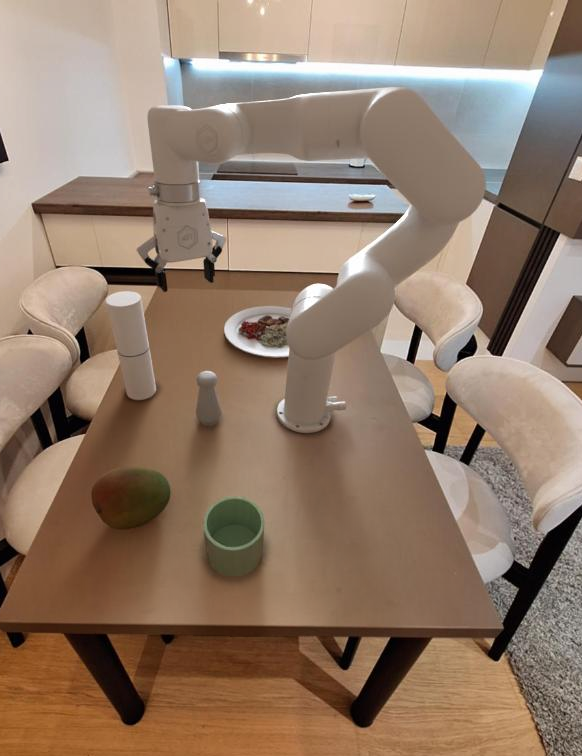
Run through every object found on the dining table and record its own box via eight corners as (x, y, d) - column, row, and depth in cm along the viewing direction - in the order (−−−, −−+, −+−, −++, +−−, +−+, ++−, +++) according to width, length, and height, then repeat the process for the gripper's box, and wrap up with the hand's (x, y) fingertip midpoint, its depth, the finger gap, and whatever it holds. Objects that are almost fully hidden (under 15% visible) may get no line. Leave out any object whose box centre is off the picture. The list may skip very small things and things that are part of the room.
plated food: (340, 350, 116) (342, 340, 114) (244, 370, 107) (244, 360, 105) (295, 305, 138) (296, 296, 136) (212, 319, 129) (211, 309, 127)
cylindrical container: (126, 402, 96) (105, 307, 80) (126, 384, 101) (106, 292, 86) (157, 397, 97) (141, 304, 82) (155, 380, 103) (140, 289, 87)
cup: (257, 521, 71) (258, 493, 66) (266, 572, 64) (269, 545, 59) (204, 527, 70) (202, 500, 65) (208, 581, 63) (205, 554, 58)
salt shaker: (218, 431, 89) (215, 385, 81) (193, 427, 90) (188, 381, 82) (224, 413, 93) (223, 369, 85) (201, 410, 94) (197, 365, 86)
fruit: (89, 511, 72) (75, 475, 66) (149, 473, 79) (141, 437, 73) (122, 555, 66) (110, 520, 59) (184, 510, 73) (179, 474, 66)
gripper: (134, 202, 63) (150, 300, 74) (232, 192, 70) (233, 283, 81) (122, 192, 69) (138, 285, 79) (214, 183, 75) (218, 270, 86)
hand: (186, 284), depth 80 cm, fingers open, 9 cm apart
